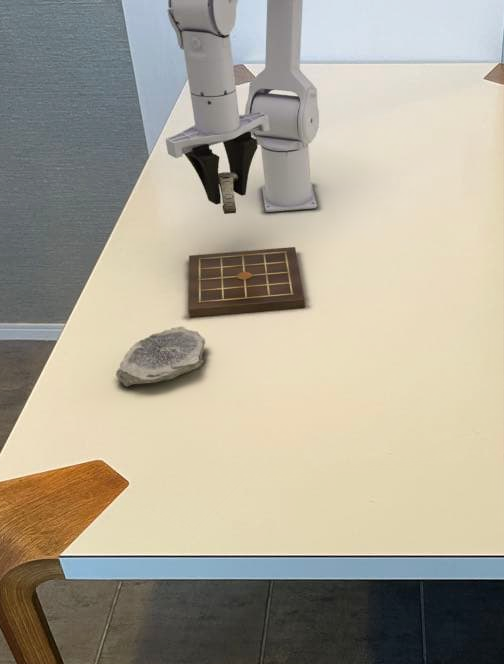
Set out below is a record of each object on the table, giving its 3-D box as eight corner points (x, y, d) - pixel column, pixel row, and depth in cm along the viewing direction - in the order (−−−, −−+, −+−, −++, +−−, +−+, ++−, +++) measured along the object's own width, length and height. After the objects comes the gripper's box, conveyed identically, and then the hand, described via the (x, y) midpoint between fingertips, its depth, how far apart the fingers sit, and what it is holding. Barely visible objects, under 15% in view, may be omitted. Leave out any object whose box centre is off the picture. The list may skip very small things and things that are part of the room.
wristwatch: (239, 200, 119) (236, 163, 116) (243, 218, 115) (239, 181, 112) (214, 201, 119) (210, 165, 115) (217, 220, 115) (212, 183, 111)
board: (190, 263, 121) (188, 254, 120) (295, 254, 123) (295, 245, 122) (189, 317, 111) (188, 308, 110) (305, 307, 112) (304, 298, 111)
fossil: (157, 315, 106) (219, 319, 101) (171, 343, 108) (232, 348, 103) (98, 369, 99) (161, 376, 94) (114, 397, 102) (176, 406, 97)
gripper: (242, 70, 113) (254, 174, 122) (145, 95, 106) (166, 203, 116) (274, 82, 109) (283, 189, 118) (175, 109, 102) (194, 220, 112)
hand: (227, 197), depth 117 cm, fingers closed on wristwatch, 3 cm apart
